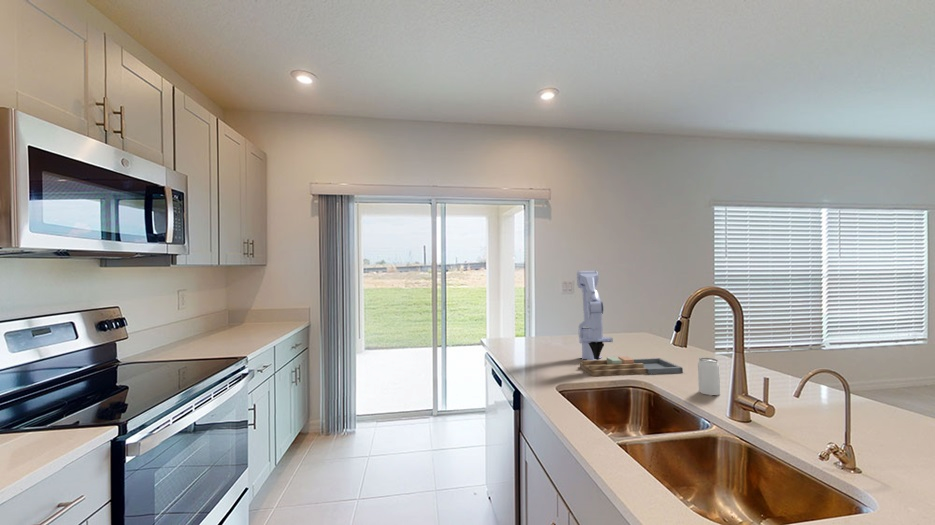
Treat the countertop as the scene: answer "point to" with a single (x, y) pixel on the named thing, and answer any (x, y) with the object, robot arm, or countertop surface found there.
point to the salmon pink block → (626, 360)
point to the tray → (659, 366)
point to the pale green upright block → (613, 360)
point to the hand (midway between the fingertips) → (596, 359)
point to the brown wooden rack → (611, 368)
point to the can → (708, 376)
